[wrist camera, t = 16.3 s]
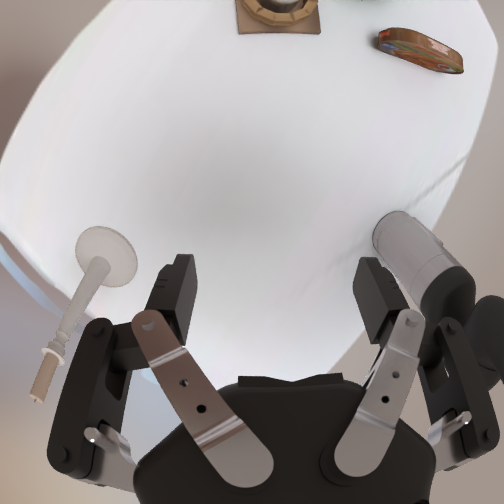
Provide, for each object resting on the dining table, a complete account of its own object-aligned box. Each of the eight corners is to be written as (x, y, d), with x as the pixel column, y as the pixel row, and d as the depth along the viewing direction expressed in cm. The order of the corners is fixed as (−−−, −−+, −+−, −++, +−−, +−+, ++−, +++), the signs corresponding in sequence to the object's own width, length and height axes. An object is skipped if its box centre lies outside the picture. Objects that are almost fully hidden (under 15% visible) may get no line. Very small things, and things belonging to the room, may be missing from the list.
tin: (368, 48, 28) (397, 41, 21) (368, 30, 27) (397, 21, 20) (440, 74, 30) (473, 78, 22) (441, 59, 28) (473, 60, 21)
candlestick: (130, 294, 49) (85, 436, 24) (74, 270, 45) (6, 397, 20) (145, 242, 44) (80, 407, 18) (81, 216, 40) (-21, 349, 14)
